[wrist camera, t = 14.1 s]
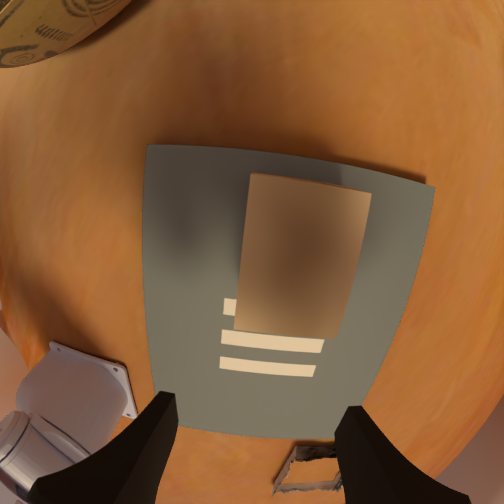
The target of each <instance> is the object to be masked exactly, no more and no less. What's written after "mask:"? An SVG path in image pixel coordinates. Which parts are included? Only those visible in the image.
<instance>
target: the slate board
mask: <svg viewBox="0 0 504 504" xmlns="http://www.w3.org/2000/svg"><path fill="white" fill-rule="evenodd" d="M254 172H257V173H266V174H273V175H281V176H288V177H295V178H301V179H308V180H314V181H320V182H326V183H331V184H337V185H342V186H346V187H350V188H354V189H357V190H361V191H364V192H368V193H371V194H372V195H371V201H370V207H369V212H368V218H367V223H366V228H365V233H364V237H363V242H362V247H361V251H360V255H359V260H358V264H357V268H356V272H355V276H354V280H353V284H352V288H351V291H350V295H349V299H348V302H347V306H346V309H345V312H344V316H343V319H342V322H341V326H340V329H339V332H338V335H337V338H336V339H329V338H313V337H300V336H289V335H278V334H268V333H259V332H251V331H243V330H235V329H234V319H235V310H236V300H237V291H238V281H239V272H240V263H241V254H242V245H243V236H244V227H245V218H246V209H247V201H248V192H249V184H250V175H251V174H252V173H254ZM434 193H435V187H432V186H429V185H426V184H422V183H419V182H416V181H412V180H408V179H405V178H401V177H397V176H393V175H389V174H385V173H381V172H377V171H373V170H369V169H364V168H360V167H355V166H350V165H345V164H340V163H335V162H330V161H325V160H319V159H313V158H307V157H301V156H294V155H287V154H280V153H272V152H264V151H256V150H246V149H236V148H224V147H210V146H192V145H159V144H147V147H146V158H145V171H144V186H143V210H142V266H143V290H144V305H145V318H146V329H147V339H148V348H149V356H150V363H151V371H152V377H153V384H154V390H155V396H156V395H157V393H158V392H159V391H166V392H170V393H175V397H176V405H177V412H178V419H179V423H178V425H179V426H183V427H188V428H193V429H199V430H205V431H211V432H217V433H224V434H232V435H240V436H250V437H263V438H281V439H328V438H335V436H334V432H335V430H336V429H337V427H338V425H339V423H340V421H341V419H342V417H343V416H344V414H345V412H346V410H347V408H348V406H360V405H362V403H363V401H364V399H365V397H366V396H367V394H368V392H369V390H370V388H371V386H372V384H373V382H374V380H375V378H376V376H377V374H378V372H379V370H380V368H381V366H382V363H383V361H384V359H385V357H386V355H387V352H388V350H389V348H390V345H391V343H392V341H393V338H394V336H395V333H396V331H397V328H398V326H399V323H400V320H401V318H402V315H403V312H404V310H405V307H406V304H407V301H408V298H409V295H410V292H411V289H412V286H413V283H414V279H415V276H416V273H417V269H418V266H419V262H420V258H421V255H422V251H423V247H424V243H425V239H426V234H427V230H428V225H429V220H430V215H431V210H432V205H433V199H434Z"/></svg>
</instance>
